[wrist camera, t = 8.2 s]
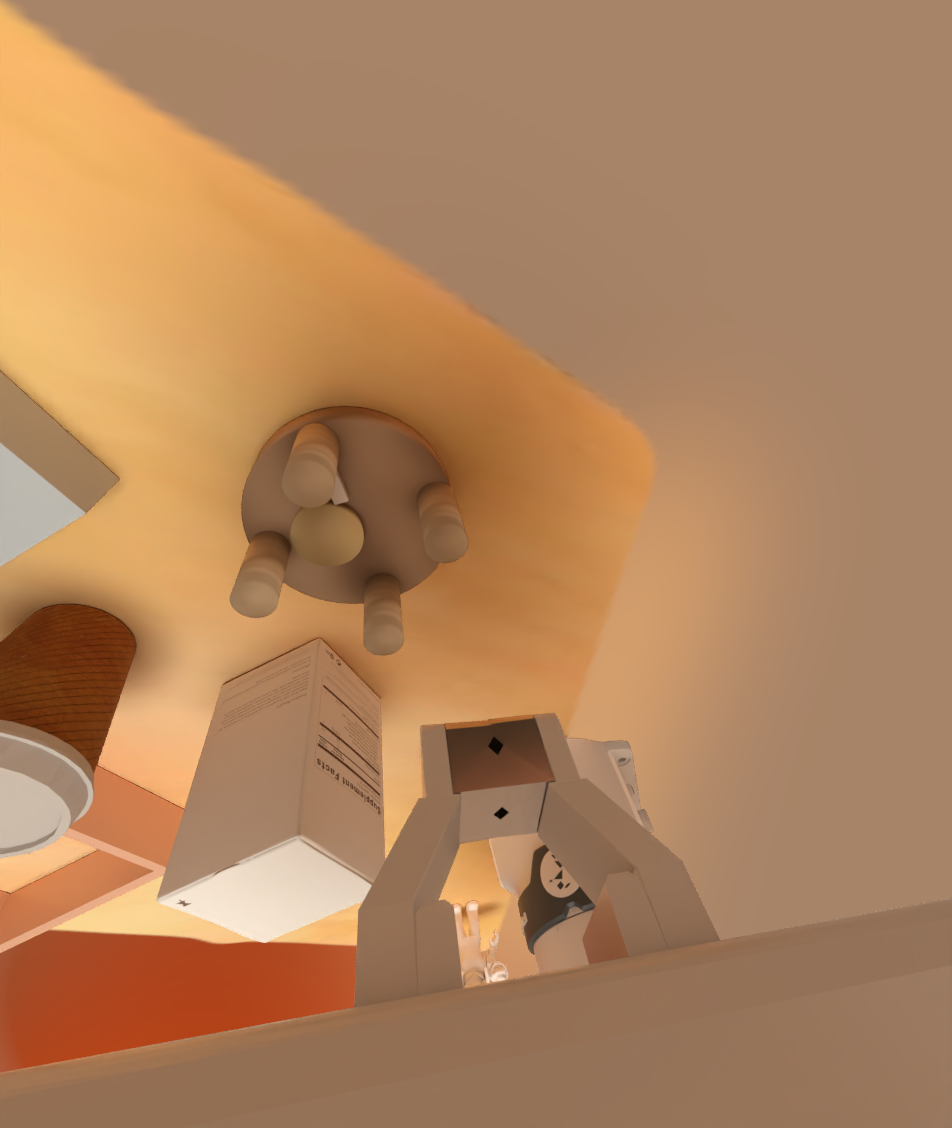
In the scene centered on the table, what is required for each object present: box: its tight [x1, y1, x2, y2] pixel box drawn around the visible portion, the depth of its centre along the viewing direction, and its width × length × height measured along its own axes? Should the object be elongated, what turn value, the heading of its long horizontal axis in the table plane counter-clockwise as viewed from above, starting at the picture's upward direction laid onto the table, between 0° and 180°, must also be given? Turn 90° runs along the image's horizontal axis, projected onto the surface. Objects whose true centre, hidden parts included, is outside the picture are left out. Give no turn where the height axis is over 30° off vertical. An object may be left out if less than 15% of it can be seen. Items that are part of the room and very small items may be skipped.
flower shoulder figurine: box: [452, 901, 508, 988], centre depth 63 cm, size 9×4×12 cm, turn 86°
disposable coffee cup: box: [0, 604, 136, 858], centre depth 28 cm, size 10×10×12 cm
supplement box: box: [157, 638, 385, 943], centre depth 33 cm, size 9×9×15 cm
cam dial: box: [230, 407, 468, 656], centre depth 28 cm, size 12×12×8 cm
